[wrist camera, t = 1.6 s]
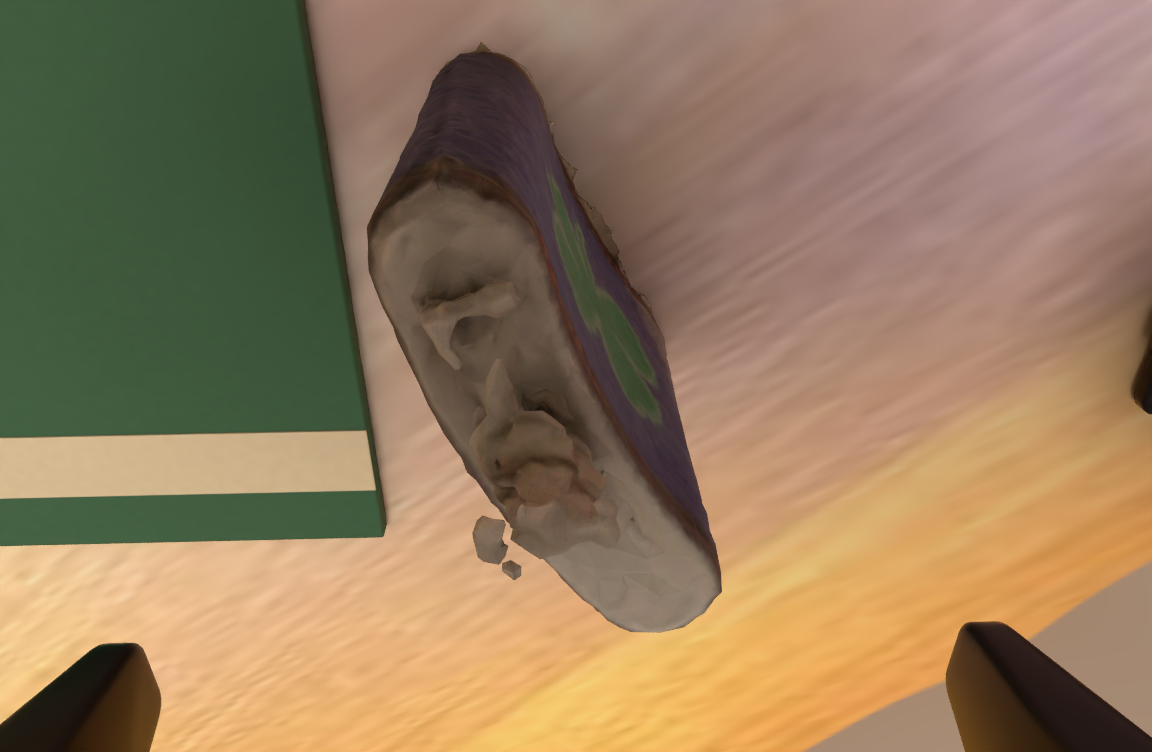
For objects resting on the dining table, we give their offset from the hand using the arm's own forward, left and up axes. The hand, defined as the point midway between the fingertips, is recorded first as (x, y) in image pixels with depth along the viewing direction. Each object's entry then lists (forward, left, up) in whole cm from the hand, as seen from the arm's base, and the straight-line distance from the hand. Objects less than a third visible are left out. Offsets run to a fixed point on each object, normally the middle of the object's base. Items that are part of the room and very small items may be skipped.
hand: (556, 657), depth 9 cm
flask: (0, 0, -13) cm, 13 cm away
